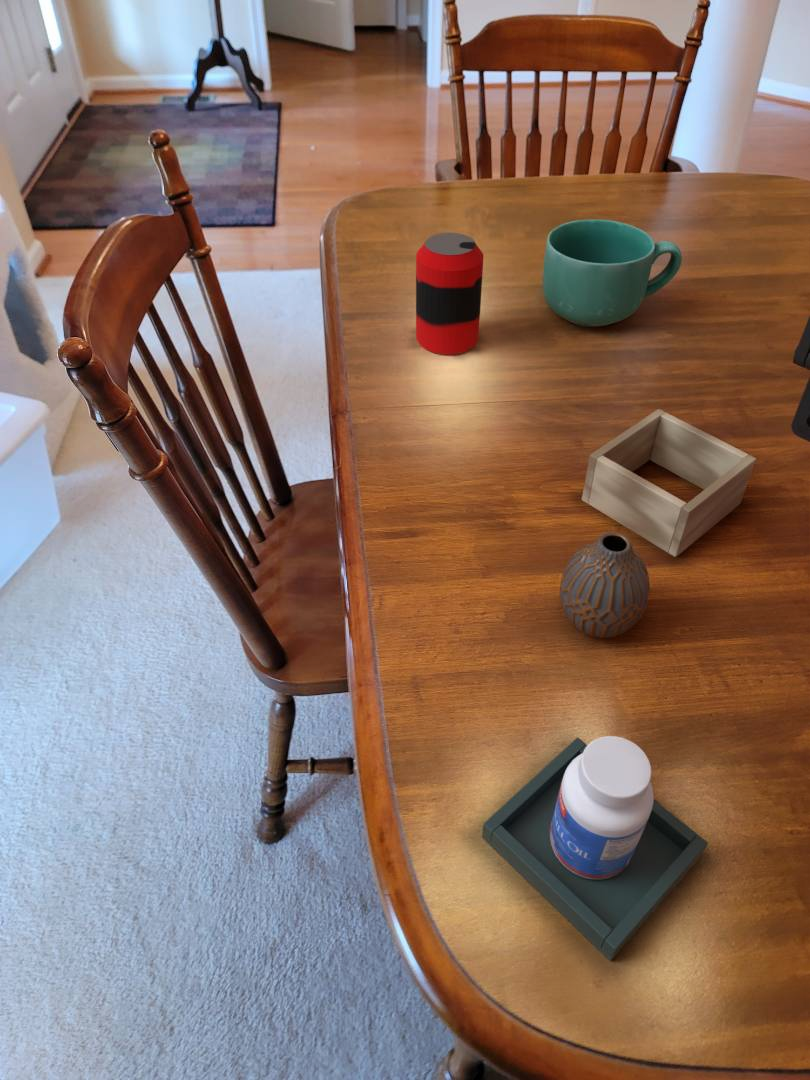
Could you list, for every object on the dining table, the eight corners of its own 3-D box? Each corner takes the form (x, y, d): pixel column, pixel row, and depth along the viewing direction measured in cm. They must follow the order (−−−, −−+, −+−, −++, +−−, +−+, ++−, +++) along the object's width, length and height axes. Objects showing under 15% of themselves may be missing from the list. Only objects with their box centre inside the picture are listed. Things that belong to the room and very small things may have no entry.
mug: (544, 338, 101) (553, 264, 94) (533, 289, 110) (541, 218, 103) (681, 339, 101) (700, 264, 94) (660, 289, 110) (675, 218, 103)
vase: (620, 664, 65) (641, 588, 59) (540, 628, 68) (553, 551, 62) (652, 609, 70) (675, 532, 63) (576, 576, 72) (591, 500, 66)
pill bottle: (533, 821, 56) (550, 741, 49) (602, 792, 57) (627, 710, 50) (577, 897, 52) (601, 821, 45) (649, 864, 53) (683, 785, 47)
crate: (740, 503, 79) (757, 458, 75) (675, 557, 74) (689, 511, 70) (647, 453, 85) (658, 408, 81) (581, 500, 80) (589, 454, 76)
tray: (701, 856, 54) (708, 842, 53) (610, 962, 50) (615, 949, 48) (574, 751, 60) (577, 736, 59) (481, 837, 55) (483, 823, 54)
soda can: (473, 359, 98) (479, 261, 89) (410, 352, 99) (410, 255, 90) (482, 326, 103) (488, 232, 95) (422, 321, 104) (423, 226, 96)
